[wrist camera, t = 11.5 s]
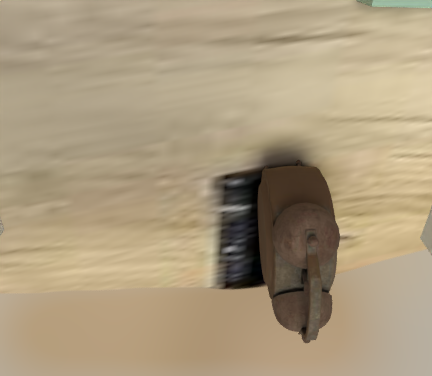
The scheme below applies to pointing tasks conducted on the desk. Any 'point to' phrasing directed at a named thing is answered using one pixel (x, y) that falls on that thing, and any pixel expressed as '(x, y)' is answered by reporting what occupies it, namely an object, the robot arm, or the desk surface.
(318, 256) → the alarm clock
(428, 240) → the robot arm
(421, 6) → the socket block
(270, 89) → the desk surface
